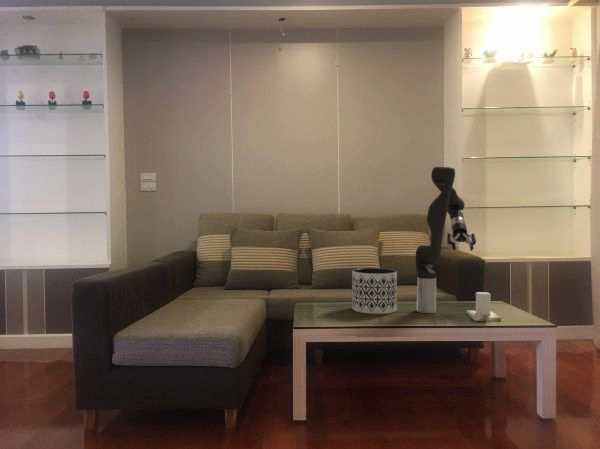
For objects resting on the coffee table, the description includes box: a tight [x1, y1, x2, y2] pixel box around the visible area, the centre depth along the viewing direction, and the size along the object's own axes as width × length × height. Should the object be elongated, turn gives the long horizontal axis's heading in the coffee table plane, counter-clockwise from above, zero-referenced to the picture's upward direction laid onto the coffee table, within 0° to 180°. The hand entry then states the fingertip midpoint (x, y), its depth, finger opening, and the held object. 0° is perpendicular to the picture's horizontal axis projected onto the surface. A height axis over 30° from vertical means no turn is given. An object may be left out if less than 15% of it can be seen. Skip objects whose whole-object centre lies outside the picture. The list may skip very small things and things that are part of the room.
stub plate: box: [465, 309, 502, 322], centre depth 238 cm, size 12×16×6 cm
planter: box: [351, 267, 398, 315], centre depth 254 cm, size 22×22×20 cm
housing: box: [475, 291, 492, 315], centre depth 238 cm, size 5×5×10 cm
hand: (463, 249), depth 259 cm, fingers open, 8 cm apart
